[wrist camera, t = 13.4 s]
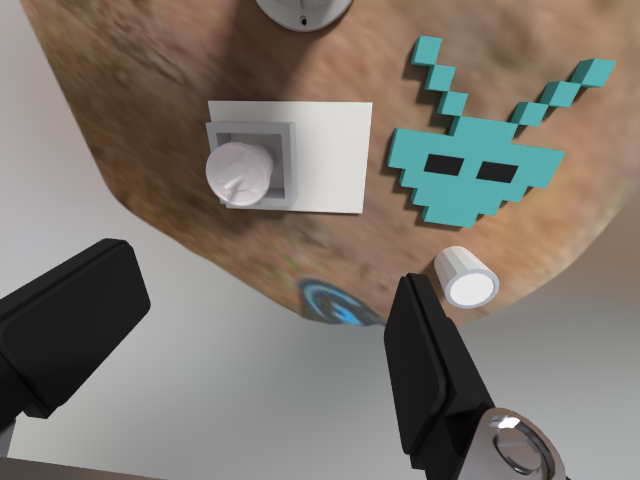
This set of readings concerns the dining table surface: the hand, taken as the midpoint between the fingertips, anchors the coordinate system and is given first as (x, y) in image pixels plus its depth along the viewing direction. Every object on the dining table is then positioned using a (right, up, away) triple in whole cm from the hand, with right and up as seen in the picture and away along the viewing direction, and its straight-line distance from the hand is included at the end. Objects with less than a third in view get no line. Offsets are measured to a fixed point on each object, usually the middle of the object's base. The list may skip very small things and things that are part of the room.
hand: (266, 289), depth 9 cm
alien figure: (+21, +14, +24) cm, 35 cm away
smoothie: (-6, +13, +25) cm, 29 cm away
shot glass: (+23, -2, +32) cm, 39 cm away
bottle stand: (-2, +13, +26) cm, 29 cm away
